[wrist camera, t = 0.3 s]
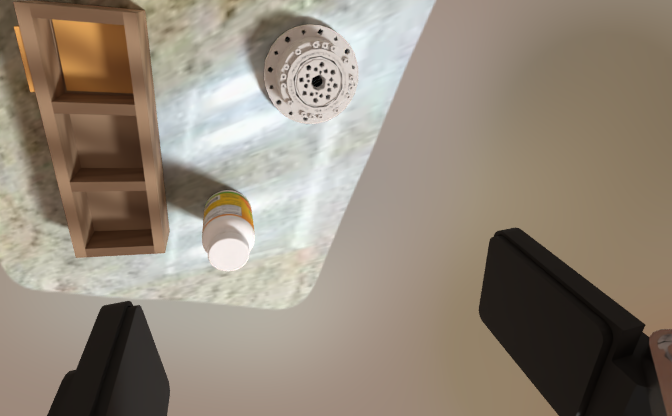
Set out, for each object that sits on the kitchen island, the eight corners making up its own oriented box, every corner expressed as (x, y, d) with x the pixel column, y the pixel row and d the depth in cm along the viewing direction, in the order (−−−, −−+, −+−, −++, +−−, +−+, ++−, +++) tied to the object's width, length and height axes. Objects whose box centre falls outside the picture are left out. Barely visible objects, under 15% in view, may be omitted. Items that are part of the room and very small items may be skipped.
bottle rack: (31, -1, 34) (6, 1, 30) (145, 10, 36) (135, 13, 32) (84, 234, 45) (71, 257, 41) (169, 231, 47) (164, 252, 43)
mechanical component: (269, 14, 39) (257, 113, 43) (274, 16, 35) (261, 125, 39) (363, 34, 42) (344, 126, 46) (377, 38, 38) (354, 137, 43)
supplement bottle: (249, 229, 49) (254, 277, 41) (203, 228, 48) (199, 277, 40) (252, 190, 47) (259, 232, 39) (205, 187, 45) (201, 231, 37)
